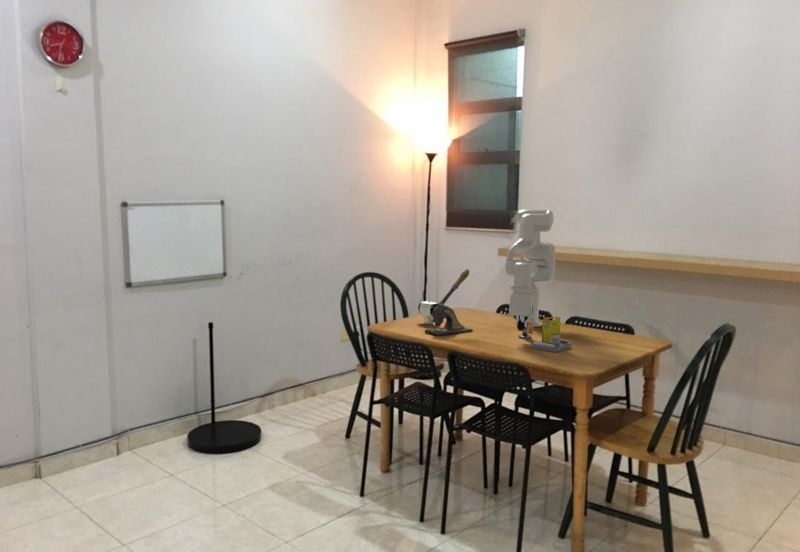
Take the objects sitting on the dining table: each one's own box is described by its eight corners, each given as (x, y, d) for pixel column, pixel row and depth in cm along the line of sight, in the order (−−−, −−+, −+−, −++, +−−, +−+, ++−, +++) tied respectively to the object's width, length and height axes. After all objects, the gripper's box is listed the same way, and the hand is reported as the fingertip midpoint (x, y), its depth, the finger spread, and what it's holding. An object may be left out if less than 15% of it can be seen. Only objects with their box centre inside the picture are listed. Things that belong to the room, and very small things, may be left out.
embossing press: (423, 332, 314) (424, 270, 310) (461, 327, 327) (463, 268, 323) (436, 336, 304) (437, 272, 301) (475, 331, 318) (477, 270, 314)
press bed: (530, 347, 283) (531, 341, 283) (546, 343, 293) (547, 336, 292) (555, 352, 275) (555, 345, 275) (571, 347, 284) (571, 341, 284)
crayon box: (558, 342, 285) (559, 316, 284) (560, 343, 283) (561, 317, 281) (541, 342, 285) (542, 315, 284) (542, 343, 283) (544, 317, 281)
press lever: (525, 333, 292) (525, 322, 291) (519, 327, 307) (519, 316, 306) (535, 333, 292) (535, 322, 291) (528, 327, 306) (529, 317, 306)
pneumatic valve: (423, 321, 342) (424, 298, 340) (440, 324, 333) (440, 301, 332) (416, 322, 338) (416, 299, 337) (432, 326, 330) (432, 302, 328)
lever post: (515, 337, 305) (516, 325, 304) (522, 335, 309) (523, 324, 308) (526, 339, 301) (527, 327, 300) (533, 337, 305) (534, 325, 304)
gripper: (503, 289, 293) (502, 330, 295) (535, 292, 286) (534, 333, 288) (508, 287, 299) (507, 327, 302) (540, 290, 292) (539, 330, 295)
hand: (520, 330), depth 295 cm, fingers closed
